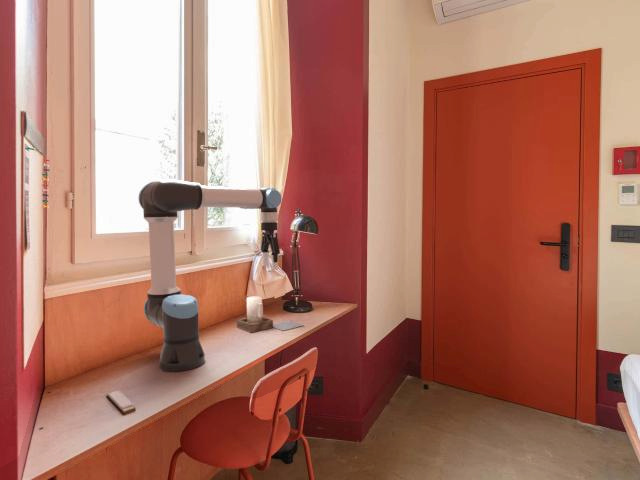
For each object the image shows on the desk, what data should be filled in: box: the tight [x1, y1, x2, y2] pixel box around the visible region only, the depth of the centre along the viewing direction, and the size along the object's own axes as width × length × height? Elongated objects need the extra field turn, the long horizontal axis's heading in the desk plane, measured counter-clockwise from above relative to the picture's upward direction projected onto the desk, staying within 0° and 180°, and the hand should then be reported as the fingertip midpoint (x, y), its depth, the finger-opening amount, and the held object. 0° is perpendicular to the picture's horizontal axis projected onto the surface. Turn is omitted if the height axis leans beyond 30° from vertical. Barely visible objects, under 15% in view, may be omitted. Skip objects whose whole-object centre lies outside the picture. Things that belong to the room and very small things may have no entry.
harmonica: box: [106, 390, 136, 416], centre depth 105 cm, size 15×3×2 cm, turn 45°
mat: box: [272, 319, 304, 332], centre depth 178 cm, size 12×12×1 cm
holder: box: [236, 316, 274, 334], centre depth 176 cm, size 12×12×4 cm
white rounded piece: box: [246, 295, 264, 324], centre depth 175 cm, size 7×10×12 cm
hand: (270, 267), depth 176 cm, fingers open, 13 cm apart
